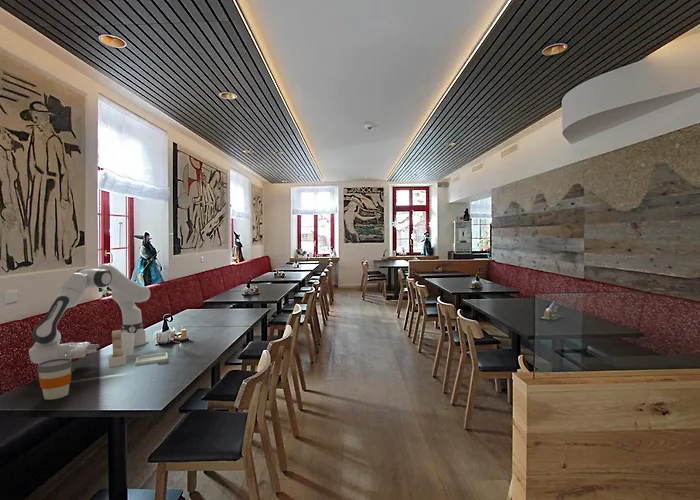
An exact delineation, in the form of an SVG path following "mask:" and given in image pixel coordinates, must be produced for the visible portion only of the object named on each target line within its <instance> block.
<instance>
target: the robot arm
mask: <svg viewBox="0 0 700 500" xmlns="http://www.w3.org/2000/svg"><path fill="white" fill-rule="evenodd" d="M105 287H108V288H109V289H110V290H112V291H111V298H112V300H113V301H115V302H116V304H118V307H119V309H120V311H121V315H122V325H121V328H122V329H121V334H123V333H135V338H134V347H139V346H142V345H143V346H144V345H145V344H150V340H149V339H148V338H147V334H146V330H145V329H144V323H143V319H142V318H143V317H142V310H141V309H140V308H139V307H138V306H137V305H136V304H135V303H144V302H147V301H148V300H149V299H150V297H151V290H150V288H149V287H148V286H145V285H142V284H141V283H140V284H139V283H137V282H136V281H133V280H131V279H130V278H128V277H127V276H125V274H123V273H122V272H121V271H120V270H119V269H118V268H116V267H115V266H113V265H111V264H109V263H103V264H100V265H99V266H98V267H97V268H80V269H78V270H76V271H74V272H72V273H70V274H69V276H68V277H67V278H66V279H65V281H64V282H63V283H62V286H61V287H60V289H59V291H58V294H57V296H56V298H55V299H54V302H53V303H52V304H51V306H50V308H49V310H48V311H47V313H46V315H45V316H44V317H43V319H42V321H41V322H39V324H37V325H36V326H35V327H34V328H33V329H32V333H31V336H32V337H31V338H32V339H33V340H34V344H33V346H31V347H30V348H29V350H28V358H29V360H30V362H32V364H40V363H42V362H45V361H49V360H53V359H61V358H68V359H71V360H72V359H80V358H81V359H82V358H85V357H86V355H89V354H92V353H96V352H97V351H98V350H97V349H98V348H100V344H98V343H96V344H93V343H92V344H91V342H89V341H84V342H81V341H80V342H74V341H71V342H67V343H66V342H65V343H61V339H62V335H61V332H60V331H59V330H58V328H57V326H58V324H59V322H60V320H61V318H62V316H63V315H64V313H65V312H66V310H68V309H71V308H74V307H76V306H77V305H78V304H79V303H80V301H81V299H82V298H83V295H84V293H85V291H86V288H91V289H92V288H100V289H101V288H105Z"/></svg>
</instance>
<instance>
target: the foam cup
mask: <svg viewBox="0 0 700 500" xmlns="http://www.w3.org/2000/svg"><path fill="white" fill-rule="evenodd" d="M134 338H135V333H123V334H121V342H122V353H126V354H127V357H131V356H132V355H133V354H134V348H135V346H134Z"/></svg>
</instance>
